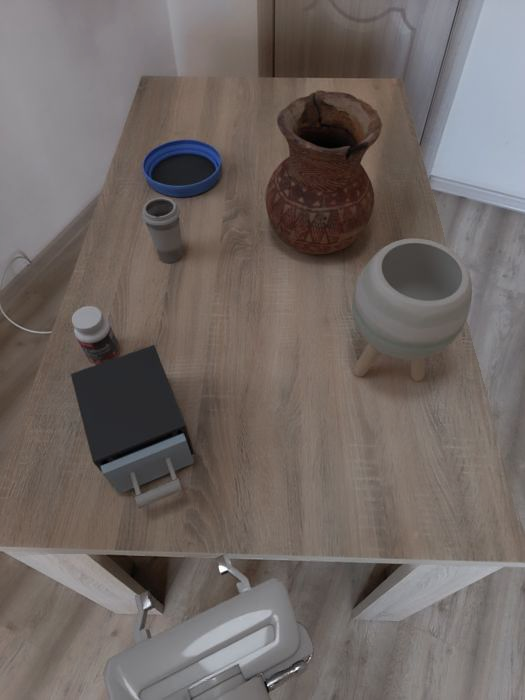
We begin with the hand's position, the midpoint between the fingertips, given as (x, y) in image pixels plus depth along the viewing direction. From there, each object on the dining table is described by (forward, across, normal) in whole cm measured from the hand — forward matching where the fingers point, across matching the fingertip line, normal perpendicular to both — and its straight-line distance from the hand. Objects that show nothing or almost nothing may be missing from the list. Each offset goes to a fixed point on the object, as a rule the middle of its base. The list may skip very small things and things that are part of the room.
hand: (182, 574), depth 54 cm
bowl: (+84, -27, +10) cm, 88 cm away
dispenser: (+25, 0, +10) cm, 27 cm away
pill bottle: (+42, +2, +10) cm, 43 cm away
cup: (+60, -16, +10) cm, 63 cm away
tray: (+20, 0, +9) cm, 22 cm away
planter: (+20, -42, +10) cm, 47 cm away
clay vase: (+54, -46, +10) cm, 71 cm away
